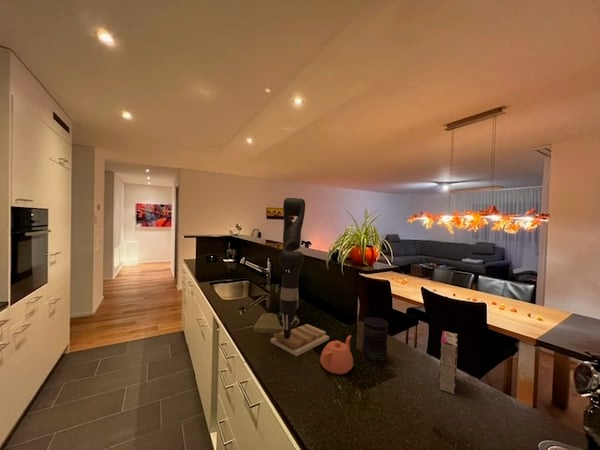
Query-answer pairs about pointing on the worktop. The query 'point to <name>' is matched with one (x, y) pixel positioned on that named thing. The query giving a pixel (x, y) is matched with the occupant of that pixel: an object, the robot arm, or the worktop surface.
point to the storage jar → (375, 340)
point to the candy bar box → (448, 362)
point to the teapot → (337, 357)
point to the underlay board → (300, 348)
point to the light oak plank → (313, 330)
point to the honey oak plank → (295, 337)
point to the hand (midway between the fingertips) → (286, 337)
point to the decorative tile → (268, 324)
